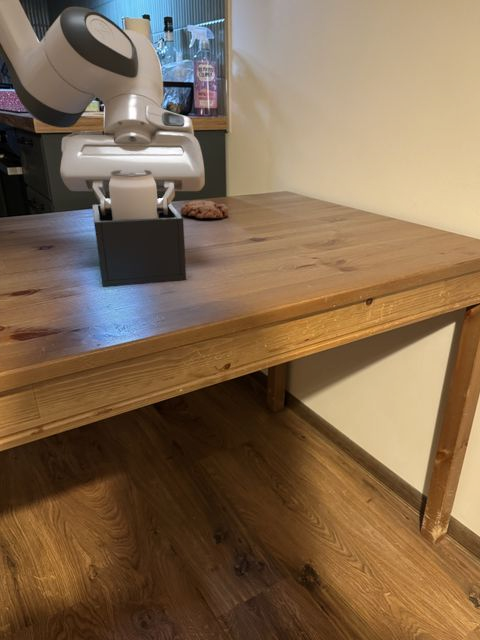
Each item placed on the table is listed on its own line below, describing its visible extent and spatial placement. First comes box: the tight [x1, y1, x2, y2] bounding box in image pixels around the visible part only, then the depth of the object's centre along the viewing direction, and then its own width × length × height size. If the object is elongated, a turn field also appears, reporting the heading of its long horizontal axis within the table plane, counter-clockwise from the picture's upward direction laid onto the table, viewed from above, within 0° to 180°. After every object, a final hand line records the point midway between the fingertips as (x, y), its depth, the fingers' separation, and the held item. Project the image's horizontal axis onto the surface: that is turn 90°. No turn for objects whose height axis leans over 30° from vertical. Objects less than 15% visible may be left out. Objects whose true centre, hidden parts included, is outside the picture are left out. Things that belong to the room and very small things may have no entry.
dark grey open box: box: [91, 202, 187, 287], centre depth 73 cm, size 12×12×9 cm
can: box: [108, 170, 159, 220], centre depth 71 cm, size 6×6×12 cm
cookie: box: [179, 199, 229, 219], centre depth 108 cm, size 10×11×3 cm
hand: (135, 213), depth 70 cm, fingers closed on can, 6 cm apart
